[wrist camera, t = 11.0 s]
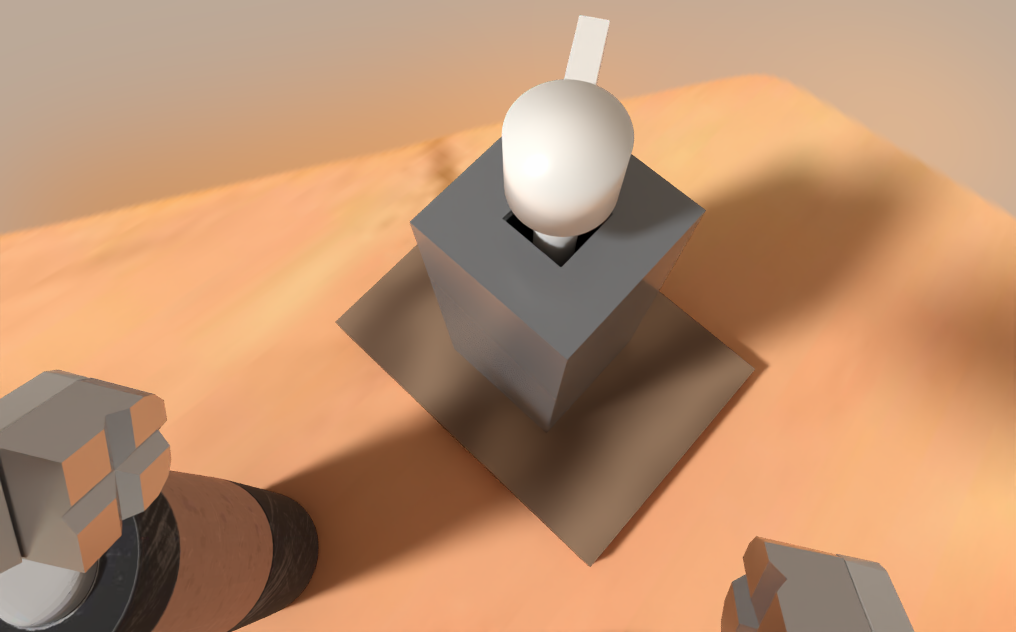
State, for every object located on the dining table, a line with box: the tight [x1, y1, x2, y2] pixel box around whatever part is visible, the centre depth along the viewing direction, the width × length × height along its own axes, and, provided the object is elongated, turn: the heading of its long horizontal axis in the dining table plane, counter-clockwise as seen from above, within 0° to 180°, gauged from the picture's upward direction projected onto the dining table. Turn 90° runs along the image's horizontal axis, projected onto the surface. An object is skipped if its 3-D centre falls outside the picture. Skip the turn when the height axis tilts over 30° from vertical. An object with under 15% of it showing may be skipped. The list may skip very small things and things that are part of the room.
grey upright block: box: [410, 137, 706, 433], centre depth 33 cm, size 8×8×18 cm
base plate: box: [336, 244, 755, 567], centre depth 43 cm, size 22×16×2 cm
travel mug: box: [0, 471, 318, 632], centre depth 30 cm, size 8×8×20 cm
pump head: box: [502, 15, 634, 267], centre depth 26 cm, size 5×6×14 cm
